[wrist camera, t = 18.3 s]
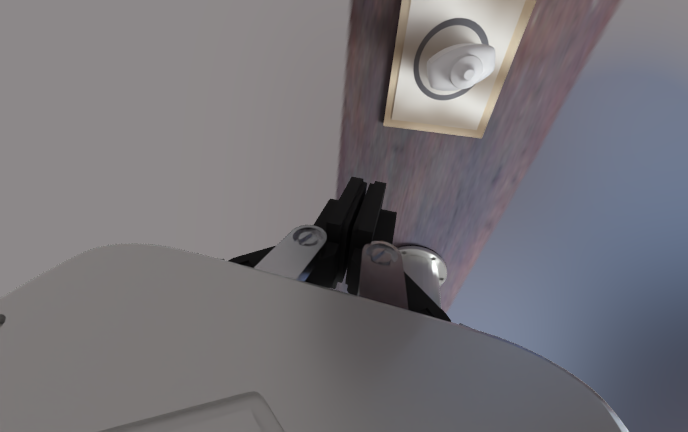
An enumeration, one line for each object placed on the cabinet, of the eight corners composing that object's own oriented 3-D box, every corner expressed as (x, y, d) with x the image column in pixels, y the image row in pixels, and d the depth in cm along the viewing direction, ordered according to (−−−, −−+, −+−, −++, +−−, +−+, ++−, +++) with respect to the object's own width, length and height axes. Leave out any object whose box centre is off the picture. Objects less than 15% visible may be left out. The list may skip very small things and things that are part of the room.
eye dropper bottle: (437, 33, 27) (446, 29, 17) (487, 47, 26) (524, 51, 17) (421, 77, 29) (421, 94, 20) (466, 90, 29) (488, 114, 20)
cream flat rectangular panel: (480, 135, 33) (481, 139, 32) (384, 123, 35) (383, 126, 34) (545, -32, 23) (551, -35, 22) (407, -34, 25) (407, -38, 24)
